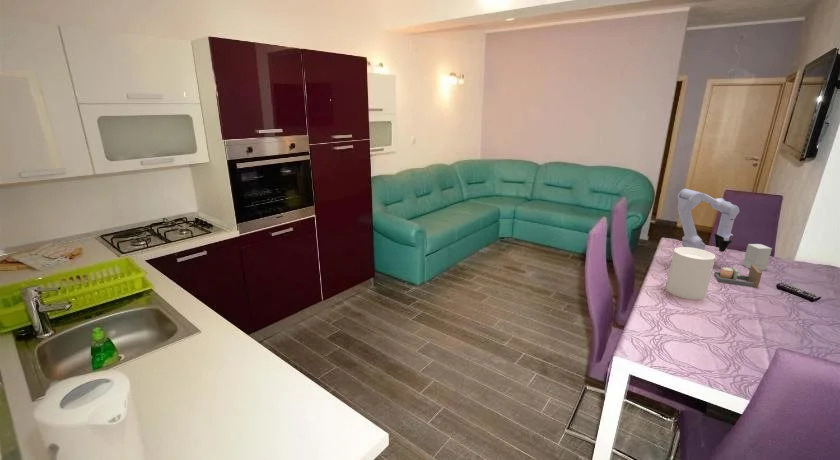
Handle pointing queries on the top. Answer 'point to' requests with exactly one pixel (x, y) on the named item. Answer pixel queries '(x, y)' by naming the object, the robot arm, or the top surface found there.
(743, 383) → the top surface
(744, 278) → the pusher lane
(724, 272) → the terracotta jar
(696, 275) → the canister
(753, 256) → the supplement box
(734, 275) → the pusher paddle
